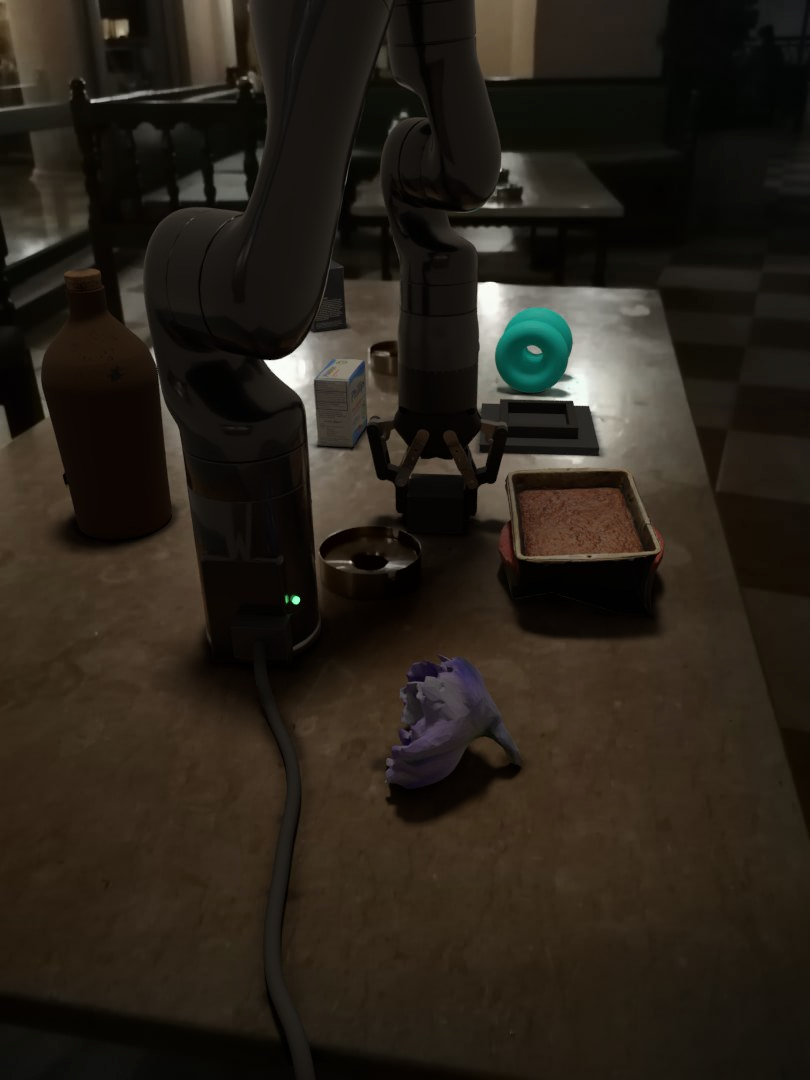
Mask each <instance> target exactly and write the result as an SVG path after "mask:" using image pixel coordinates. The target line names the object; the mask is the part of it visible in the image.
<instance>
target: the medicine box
mask: <svg viewBox="0 0 810 1080" xmlns="http://www.w3.org/2000/svg"><path fill="white" fill-rule="evenodd" d="M366 380H367V379H366V361H365V360H363V359H353V358H332V359H331V360H330V361H329V363H327V365H326V366H325V367H324V368H323V369H322V370H321V371H320V372H319V373H318V374H317V376H315V378H314V379H313V393H314V407H315V419H316V420H315V421H316V432H317V444H318V446H322V447H323V446H325V447H337V448H354V445H355V443H357V441H358V439H359V437H360V436H361V434H362V433H363V431H364V430H365V428H367V426H368V405H367V404H368V403H367V401H368V400H367V381H366Z"/></svg>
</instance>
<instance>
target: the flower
mask: <svg viewBox="0 0 810 1080" xmlns="http://www.w3.org/2000/svg"><path fill="white" fill-rule="evenodd" d="M435 655H436V656H437V657H438V659H439V660H440V664H438V663H435V662H431V660H427V659H426V658H423V659H421V662H413V663H412V665H411V667H410V668H409V670H408V671H407V673H406V674H405V676H406V678H407V682H406V684H405V686H403V687H400V688H399V699H401V700H402V701H403V702H402V703H403V706H404V707H403V709H402V712H401V717H400V724H405V725H406V726H408V727H409V730H406V729H404V728H402V727H401V728H399V729H397V734H398V737H399V740H400V742H401V744H402V745H392V747H391V754H392V758H391V757H390V758H389V757H387V758H386V760H385V765H386V767H388V769H387V770H386V771H385V777H386V780H385V781H384V784H396V785H400V786H401V787H403V788H405V789H407V790H416V789H419V788H424V787H426V786H430V785H433V784H435V783H438V782H441V781H442V780H444V779H445V778H446V777H448V776H449V775H450V774H452V772H453V771H454V770H455V768H457V766H458V764H459V762H460V760H461V759H462V757H463V755H464V753H465V751H466V749H467V748H468V747H470V744H471V743H473V742H474V741H476V740H478V739H480V738H484V737H485V738H488V739H490V740H493V741H494V742H495V743H496V744H498V745H499V746H500V747H501V748H502V750H503V751H504V753H505V755H506V757H507V760H508V762H509V763H511V764H513V765H514V766H518V765H519V764H520V762H521V761H522V756H521V752H520V749H519V747H518V746H517V744H516V742H515V741H514V739H513V737H512V736H511V734H510V732H509V731H508V730H507V728H506V725H505V724H504V721H503V717H502V714H501V711H500V710H499V708H498V707H497V705H496V703H495V701H494V700H493V697H492V696H491V695H490V692H489V691H488V689H487V688H486V684H485V679H484V676H483V674H482V673H481V672H480V670H479V669H478V668H477V667H476V666H475V665H474V664H473V663H472V662H470V661H469V660H468V659H466V658H463V657H461V656H455V657H451V659H450V658H448V657H446V656H444V655H441V654H438V653H436V652H435Z"/></svg>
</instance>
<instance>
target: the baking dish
mask: <svg viewBox="0 0 810 1080" xmlns="http://www.w3.org/2000/svg"><path fill="white" fill-rule="evenodd" d="M504 481H505V484H504V489H505V492H506V497H507V502H508V510H509V518H510V519H509V521H507V522H506V524H504V526H503V528H502V529H501V530H500V536H499V540H498V542H497V543H498V544H497V552H498V554H499V556H500V560H501V562H502V565H503V569H504V572H505V575H506V579H507V584H508V586H509V591H510V596H511V599H512V600H516V599H522V598H528V597H529V598H530V597H535V596H540V595H547V594H555V595H558V596H561V597H564V598H568V599H570V600H574V601H576V602H580V603H583V604H587V605H589V606H593V607H595V608H600V609H603V610H606V611H609V612H612V613H615V614H625V615H626V614H627V615H637V616H638V615H639V616H649V617H650V616H652V610H653V609H652V604H651V595H652V593H651V592H652V588H653V584H654V579H655V576H656V572H657V570H658V568H659V566H660V564H661V563H662V560H663V558H664V552H665V541H664V539H663V537H662V536H661V534H660V532H659V531H658V530H657V528H656V527H655V526H654V525H653V523H652V520H651V518H650V516H649V514H648V512H647V509H646V507H645V504H644V503H645V502H644V500H643V499H642V496H641V493H640V491H639V488H638V485H637V483H636V481H635V478H634V476H633V474H632V473H631V472H630V471H629V470H627V469H624V468H608V467H607V468H606V467H558V468H556V467H555V468H553V467H552V468H551V467H549V468H537V469H520V470H515V471H512V472H508V474H507V475H506V477H505V480H504Z"/></svg>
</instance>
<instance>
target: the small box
mask: <svg viewBox="0 0 810 1080" xmlns="http://www.w3.org/2000/svg"><path fill="white" fill-rule="evenodd" d="M346 312H347V311H346V295H345V266H344V265H342V264H340V263H338V262H336V261H334V260H333V259H331V264H330V269H329V274H328V279H327V283H326V287H325V292H324V296H323V299H322V303H321V306H320V309H319V312H318V314H317V317H316V319H315V322H314V324H313V326H312V328H311V330H310V331H312V332H314V333H317V332H324V331H331V330H340V329H346V328H347V327H348V325H347V323H348V322H347V313H346Z"/></svg>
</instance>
